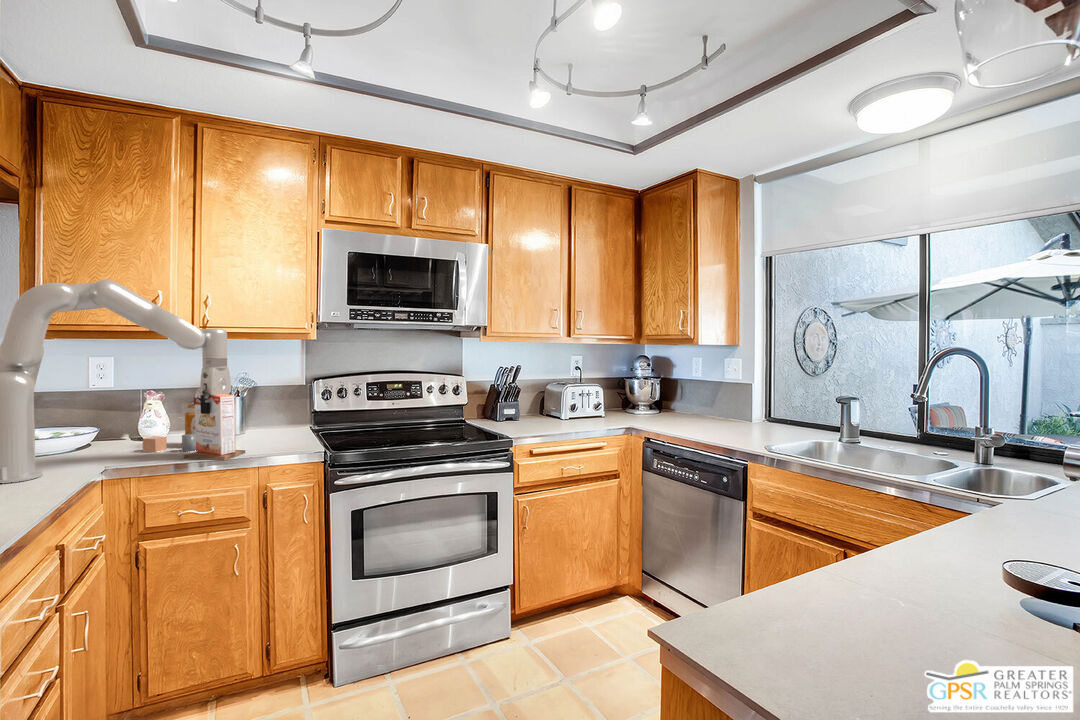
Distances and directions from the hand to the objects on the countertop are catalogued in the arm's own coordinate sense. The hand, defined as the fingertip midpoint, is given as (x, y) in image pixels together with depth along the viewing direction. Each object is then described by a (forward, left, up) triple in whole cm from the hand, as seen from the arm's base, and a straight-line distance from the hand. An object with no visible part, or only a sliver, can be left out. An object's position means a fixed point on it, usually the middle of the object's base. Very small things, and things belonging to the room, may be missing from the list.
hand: (215, 411), depth 192 cm
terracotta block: (+4, +27, -16) cm, 32 cm away
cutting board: (0, 0, -16) cm, 16 cm away
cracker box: (0, 0, -15) cm, 15 cm away
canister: (+16, +19, -16) cm, 30 cm away
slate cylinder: (+6, +15, -16) cm, 23 cm away
